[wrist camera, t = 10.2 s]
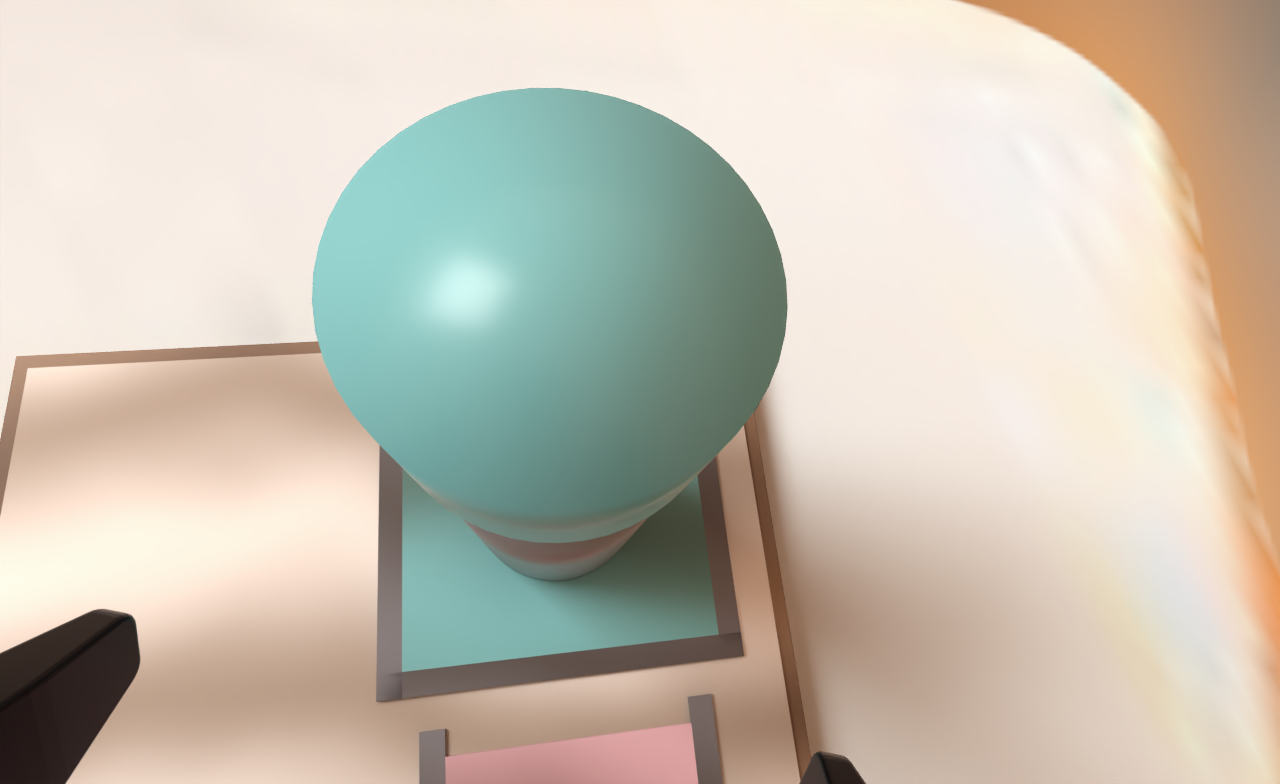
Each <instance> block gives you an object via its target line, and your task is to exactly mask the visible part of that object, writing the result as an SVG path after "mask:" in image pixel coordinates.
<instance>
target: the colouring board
mask: <svg viewBox="0 0 1280 784" xmlns="http://www.w3.org/2000/svg"><path fill="white" fill-rule="evenodd" d="M96 609H109V610H114V611H119V612H124V613H128V614H131V615H132V616H133V617H134V619H135V621H136V626H137V634H138V642H139V650H140V666H139V669H138V672H137V674H136V677H135V678H134V680H133V682H132V683H131V685H130V686H129V688H128V689H127V691H126V693H125V694H124V696H123V697H122V699H121V700H120V702H119V703H118V705H117V706H116V708H115V709H114V711H113V712H112V714H111V715H110V717H109V719H108V720H107V722H106V723H105V725H104V726H103V728H102V729H101V731H100V732H99V734H98V735H97V737H96V738H95V740H94V741H93V743H92V745H91V746H90V748H89V749H88V751H87V752H86V754H85V755H84V757H83V758H82V760H81V761H80V763H79V764H78V766H77V767H76V769H75V771H74V772H73V774H72V775H71V777H70V778H69V780H68V781H67V783H66V784H799V783H800V781H801V779H802V777H803V775H804V773H805V771H806V769H807V767H808V765H809V763H810V761H811V756H810V750H809V744H808V738H807V732H806V726H805V720H804V713H803V707H802V701H801V695H800V689H799V683H798V677H797V671H796V665H795V659H794V653H793V647H792V641H791V635H790V629H789V622H788V616H787V610H786V604H785V598H784V592H783V586H782V580H781V574H780V568H779V562H778V556H777V550H776V544H775V537H774V531H773V525H772V519H771V513H770V507H769V501H768V495H767V489H766V483H765V477H764V471H763V465H762V459H761V452H760V446H759V440H758V434H757V428H756V422H755V416H754V413H753V414H752V415H751V417H750V418H749V419H748V420H747V422H746V423H745V424H744V426H743V427H742V428H741V429H740V431H739V432H738V433H737V434H736V436H735V437H734V438H733V439H732V440H731V441H730V442H729V443H728V444H727V445H726V446H725V447H724V448H723V449H722V450H721V451H720V452H719V453H718V454H717V455H716V456H715V457H714V458H713V459H712V460H711V461H710V462H709V464H708V465H707V466H706V467H705V468H704V469H703V470H702V471H701V472H700V473H699V474H698V475H697V476H696V477H695V478H694V479H693V480H692V481H691V482H690V483H689V484H688V485H687V486H686V487H685V488H684V489H683V490H682V491H681V492H680V493H679V494H678V495H677V496H676V497H675V498H674V499H673V500H672V501H671V502H669V503H668V504H667V505H665V506H664V507H662V508H661V509H660V510H658V511H657V512H656V513H654V514H653V515H651V516H650V517H648V518H647V519H646V521H645V522H644V523H643V524H642V525H641V526H640V527H639V528H638V530H637V531H636V532H635V533H634V534H633V535H632V536H631V537H630V539H629V540H628V541H627V542H626V543H625V544H624V545H623V546H622V548H621V549H620V550H619V551H618V552H617V553H616V554H615V555H614V556H613V557H612V558H611V559H610V560H609V561H608V562H607V563H605V564H604V565H602V566H601V567H600V568H598V569H596V570H595V571H593V572H591V573H589V574H586V575H584V576H581V577H578V578H574V579H570V580H563V581H545V580H539V579H534V578H531V577H527V576H524V575H522V574H520V573H518V572H516V571H514V570H512V569H511V568H509V567H508V566H506V565H505V564H504V563H503V562H502V561H500V560H499V559H498V558H497V557H496V556H495V555H494V554H493V553H492V551H491V550H490V549H489V548H488V547H487V546H486V545H485V544H484V543H483V541H482V540H481V539H480V538H479V537H478V536H477V535H476V534H475V533H474V532H473V530H472V529H471V528H470V527H469V526H468V525H467V524H466V523H465V522H464V520H463V519H462V518H460V517H458V516H457V515H455V514H454V513H452V512H451V511H449V510H448V509H446V508H444V507H443V506H442V505H441V504H440V503H439V502H437V501H436V500H435V499H434V498H433V497H432V496H430V495H429V494H428V493H427V492H426V491H425V490H424V489H423V488H422V487H421V486H420V485H419V484H418V483H417V482H416V481H415V480H414V479H413V478H412V477H411V476H410V475H409V474H408V473H407V472H406V471H405V470H404V469H403V468H402V467H401V466H400V465H399V464H398V463H397V462H396V461H395V460H394V459H393V458H392V457H391V456H390V455H389V454H388V453H387V452H386V451H385V450H384V449H383V448H382V447H381V446H380V445H379V444H378V443H377V442H376V441H375V440H374V439H373V438H372V436H371V435H370V434H369V433H368V432H367V431H366V429H365V428H364V427H363V426H362V425H361V424H360V423H359V421H358V420H357V419H356V418H355V417H354V416H353V414H352V413H351V411H350V410H349V408H348V407H347V405H346V403H345V402H344V400H343V399H342V397H341V396H340V394H339V392H338V391H337V389H336V388H335V385H334V383H333V381H332V379H331V376H330V374H329V372H328V369H327V367H326V365H325V363H324V360H323V357H322V353H321V350H320V346H319V342H299V343H279V344H259V345H238V346H218V347H198V348H178V349H157V350H137V351H117V352H97V353H76V354H56V355H36V356H16V361H15V366H14V371H13V377H12V382H11V387H10V392H9V397H8V403H7V408H6V413H5V418H4V423H3V429H2V434H1V439H0V653H1V652H3V651H5V650H7V649H10V648H12V647H14V646H16V645H18V644H20V643H23V642H25V641H27V640H29V639H31V638H33V637H36V636H38V635H40V634H42V633H44V632H46V631H49V630H51V629H53V628H55V627H57V626H59V625H61V624H64V623H66V622H68V621H70V620H72V619H74V618H77V617H79V616H81V615H83V614H85V613H87V612H90V611H93V610H96Z"/></svg>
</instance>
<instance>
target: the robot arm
mask: <svg viewBox="0 0 1280 784" xmlns="http://www.w3.org/2000/svg"><path fill="white" fill-rule="evenodd" d="M139 666H140V650H139V642H138V634H137V626H136V621H135V619H134V617H133V616H132V615H131V614H128V613H124V612H119V611H114V610H109V609H96V610H93V611H90V612H87V613H85V614H83V615H81V616H79V617H77V618H74V619H72V620H70V621H68V622H66V623H64V624H61V625H59V626H57V627H55V628H53V629H51V630H49V631H46V632H44V633H42V634H40V635H38V636H36V637H33V638H31V639H29V640H27V641H25V642H23V643H20V644H18V645H16V646H14V647H12V648H10V649H7V650H5V651H3V652H1V653H0V784H66V783H67V781H68V780H69V778H70V777H71V775H72V774H73V772H74V771H75V769H76V767H77V766H78V764H79V763H80V761H81V760H82V758H83V757H84V755H85V754H86V752H87V751H88V749H89V748H90V746H91V745H92V743H93V741H94V740H95V738H96V737H97V735H98V734H99V732H100V731H101V729H102V728H103V726H104V725H105V723H106V722H107V720H108V719H109V717H110V715H111V714H112V712H113V711H114V709H115V708H116V706H117V705H118V703H119V702H120V700H121V699H122V697H123V696H124V694H125V693H126V691H127V689H128V688H129V686H130V685H131V683H132V682H133V680H134V678H135V677H136V674H137V672H138V669H139ZM799 784H866V783H865V782H864V780H863V779H862V777H861V776H860V774H859V773H858V771H857V770H856V768H855V767H854V766H853V764H852V763H851V762H850V761H849V760H848V759H847V758H846V757H844V756H841V755H837V754H832V753H827V752H817V753H815V754H814V755H813V757H812V759H811V761H810V763H809V765H808V767H807V769H806V771H805V773H804V775H803V777H802V779H801V781H800V783H799Z"/></svg>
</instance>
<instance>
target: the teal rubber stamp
mask: <svg viewBox="0 0 1280 784" xmlns="http://www.w3.org/2000/svg"><path fill="white" fill-rule="evenodd" d="M312 305H313V314H314V323H315V331H316V335H317V339H318V342H319V346H320V350H321V353H322V357H323V360H324V363H325V365H326V367H327V369H328V372H329V374H330V376H331V379H332V381H333V383H334V385H335V388H336V389H337V391H338V392H339V394H340V396H341V397H342V399H343V400H344V402H345V403H346V405H347V407H348V408H349V410H350V411H351V413H352V414H353V416H354V417H355V418H356V419H357V420H358V421H359V423H360V424H361V425H362V426H363V427H364V428H365V429H366V431H367V432H368V433H369V434H370V435H371V436H372V438H373V439H374V440H375V441H376V442H377V443H378V444H379V445H380V446H381V447H382V448H383V449H384V450H385V451H386V452H387V453H388V454H389V455H390V456H391V457H392V458H393V459H394V460H395V461H396V462H397V463H398V464H399V465H400V466H401V467H402V468H403V469H404V470H405V471H406V472H407V473H408V474H409V475H410V476H411V477H412V478H413V479H414V480H415V481H416V482H417V483H418V484H419V485H420V486H421V487H422V488H423V489H424V490H425V491H426V492H427V493H428V494H429V495H430V496H432V497H433V498H434V499H435V500H436V501H437V502H439V503H440V504H441V505H442V506H443V507H444V508H446V509H448V510H449V511H451V512H452V513H454V514H455V515H457V516H458V517H460V518H462V519H463V520H464V522H465V523H466V524H467V525H468V526H469V527H470V528H471V529H472V530H473V532H474V533H475V534H476V535H477V536H478V537H479V538H480V539H481V540H482V541H483V543H484V544H485V545H486V546H487V547H488V548H489V549H490V550H491V551H492V553H493V554H494V555H495V556H496V557H497V558H498V559H499V560H500V561H502V562H503V563H504V564H505V565H506V566H508V567H509V568H511V569H512V570H514V571H516V572H518V573H520V574H522V575H524V576H527V577H531V578H534V579H539V580H545V581H563V580H570V579H574V578H578V577H581V576H584V575H586V574H589V573H591V572H593V571H595V570H596V569H598V568H600V567H601V566H602V565H604V564H605V563H607V562H608V561H609V560H610V559H611V558H612V557H613V556H614V555H615V554H616V553H617V552H618V551H619V550H620V549H621V548H622V546H623V545H624V544H625V543H626V542H627V541H628V540H629V539H630V537H631V536H632V535H633V534H634V533H635V532H636V531H637V530H638V528H639V527H640V526H641V525H642V524H643V523H644V522H645V521H646V519H647V518H648V517H650V516H651V515H653V514H654V513H656V512H657V511H658V510H660V509H661V508H662V507H664V506H665V505H667V504H668V503H669V502H671V501H672V500H673V499H674V498H675V497H676V496H677V495H678V494H679V493H680V492H681V491H682V490H683V489H684V488H685V487H686V486H687V485H688V484H689V483H690V482H691V481H692V480H693V479H694V478H695V477H696V476H697V475H698V474H699V473H700V472H701V471H702V470H703V469H704V468H705V467H706V466H707V465H708V464H709V462H710V461H711V460H712V459H713V458H714V457H715V456H716V455H717V454H718V453H719V452H720V451H721V450H722V449H723V448H724V447H725V446H726V445H727V444H728V443H729V442H730V441H731V440H732V439H733V438H734V437H735V436H736V434H737V433H738V432H739V431H740V429H741V428H742V427H743V426H744V424H745V423H746V422H747V420H748V419H749V418H750V417H751V415H752V414H753V413H754V411H755V410H756V408H757V406H758V404H759V403H760V401H761V399H762V397H763V396H764V394H765V392H766V390H767V389H768V387H769V384H770V382H771V379H772V377H773V374H774V372H775V369H776V367H777V364H778V362H779V358H780V354H781V349H782V345H783V341H784V337H785V329H786V318H787V290H786V278H785V273H784V268H783V263H782V258H781V254H780V251H779V248H778V245H777V242H776V239H775V236H774V233H773V230H772V228H771V226H770V224H769V222H768V220H767V218H766V216H765V214H764V212H763V210H762V208H761V206H760V204H759V203H758V201H757V200H756V198H755V197H754V195H753V194H752V192H751V191H750V189H749V188H748V186H747V185H746V183H745V182H744V181H743V180H742V179H741V177H740V176H739V175H738V174H737V173H736V172H735V170H734V169H733V168H732V167H731V166H730V165H729V164H728V163H727V162H726V161H725V160H724V159H723V158H722V157H721V156H720V155H719V154H718V153H717V152H716V151H714V150H713V149H712V148H711V147H710V146H709V145H708V144H706V143H705V142H704V141H702V140H701V139H700V138H698V137H697V136H695V135H694V134H693V133H691V132H690V131H689V130H687V129H685V128H684V127H682V126H680V125H679V124H677V123H675V122H673V121H672V120H670V119H668V118H666V117H665V116H663V115H660V114H658V113H656V112H654V111H651V110H649V109H647V108H645V107H642V106H640V105H637V104H634V103H631V102H628V101H625V100H622V99H619V98H616V97H612V96H607V95H603V94H598V93H593V92H588V91H581V90H571V89H562V88H528V89H518V90H509V91H501V92H497V93H492V94H487V95H483V96H478V97H474V98H471V99H468V100H465V101H462V102H459V103H456V104H453V105H450V106H448V107H446V108H444V109H441V110H439V111H437V112H435V113H433V114H431V115H429V116H426V117H424V118H422V119H421V120H419V121H418V122H416V123H414V124H413V125H411V126H410V127H408V128H406V129H405V130H403V131H402V132H400V133H399V134H397V135H396V136H395V137H394V138H392V139H391V140H390V141H389V142H387V143H386V144H385V145H384V146H382V147H381V148H380V149H379V150H378V151H377V152H376V153H375V154H374V155H373V156H372V157H371V158H370V159H369V160H368V161H367V162H366V163H365V164H364V165H363V166H362V167H361V168H360V169H359V170H358V172H357V173H356V175H355V176H354V177H353V179H352V180H351V181H350V183H349V184H348V185H347V187H346V188H345V190H344V191H343V192H342V194H341V196H340V198H339V200H338V201H337V203H336V205H335V207H334V209H333V211H332V213H331V214H330V216H329V218H328V221H327V224H326V227H325V229H324V232H323V235H322V238H321V241H320V243H319V247H318V252H317V257H316V262H315V267H314V272H313V294H312Z"/></svg>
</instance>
